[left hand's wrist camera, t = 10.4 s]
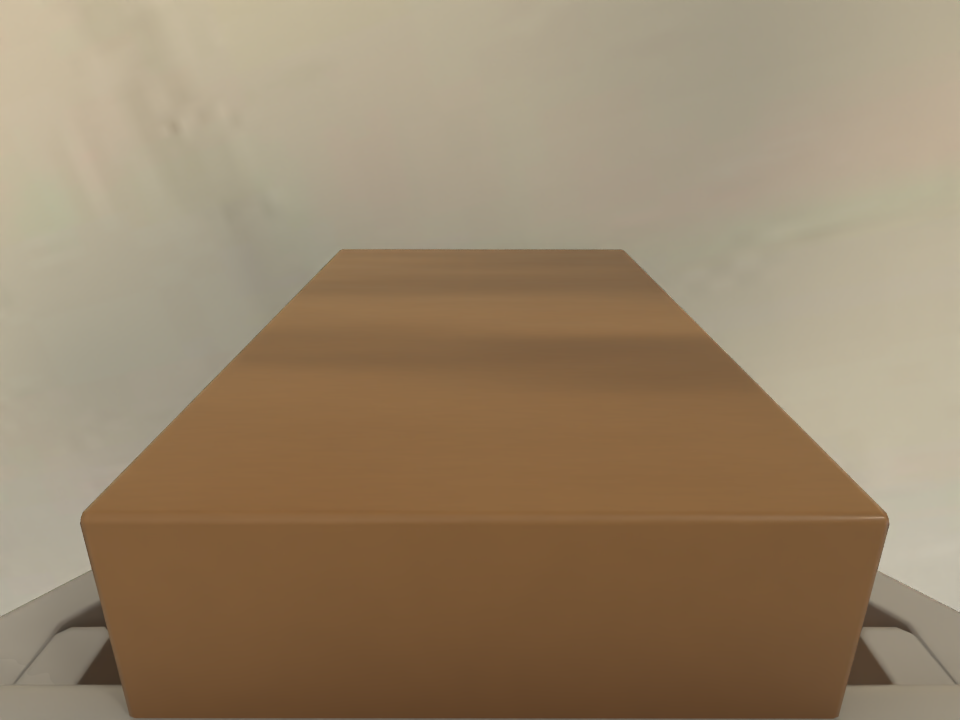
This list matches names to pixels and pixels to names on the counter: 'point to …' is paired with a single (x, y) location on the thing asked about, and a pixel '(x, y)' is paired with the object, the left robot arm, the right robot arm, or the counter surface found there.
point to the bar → (484, 512)
